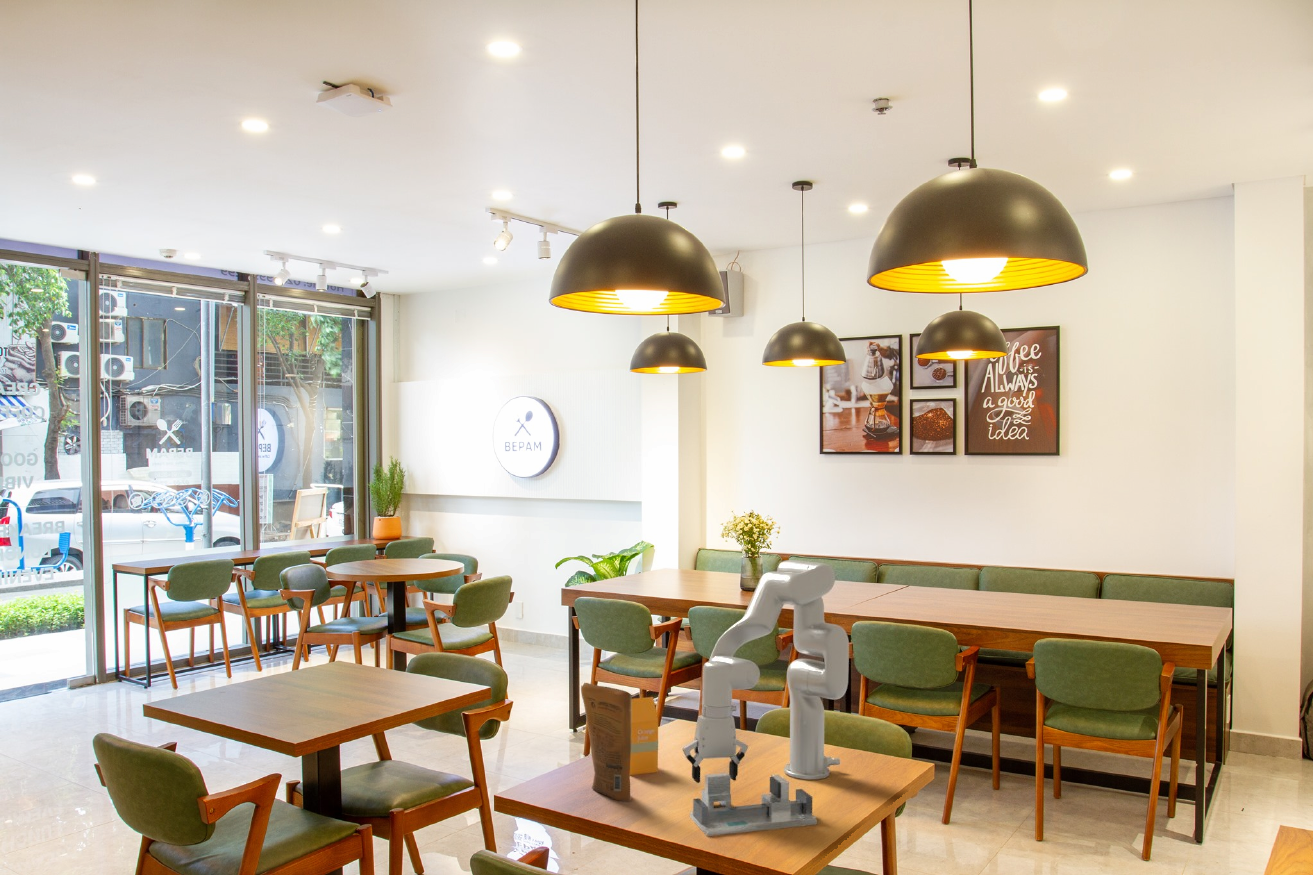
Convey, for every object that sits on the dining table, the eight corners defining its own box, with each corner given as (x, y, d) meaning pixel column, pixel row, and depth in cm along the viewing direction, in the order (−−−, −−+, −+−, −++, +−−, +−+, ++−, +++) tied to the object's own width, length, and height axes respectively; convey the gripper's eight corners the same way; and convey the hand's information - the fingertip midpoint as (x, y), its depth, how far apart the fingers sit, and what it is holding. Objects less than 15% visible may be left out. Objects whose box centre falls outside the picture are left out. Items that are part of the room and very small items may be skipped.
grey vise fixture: (796, 806, 236) (796, 768, 237) (817, 824, 225) (818, 784, 225) (688, 817, 228) (689, 778, 229) (705, 836, 217) (706, 794, 217)
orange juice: (618, 767, 267) (619, 696, 268) (647, 763, 270) (648, 693, 271) (628, 775, 260) (629, 702, 260) (658, 771, 263) (659, 699, 264)
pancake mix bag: (620, 806, 235) (621, 693, 236) (577, 786, 250) (578, 680, 251) (641, 800, 240) (642, 690, 241) (597, 781, 254) (599, 677, 255)
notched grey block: (701, 803, 238) (701, 771, 238) (723, 801, 240) (723, 769, 240) (708, 810, 233) (708, 777, 234) (730, 808, 235) (731, 775, 235)
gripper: (742, 706, 243) (740, 773, 242) (679, 709, 238) (677, 777, 237) (754, 713, 236) (752, 782, 235) (689, 716, 231) (687, 786, 230)
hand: (714, 780), depth 236 cm, fingers open, 9 cm apart
